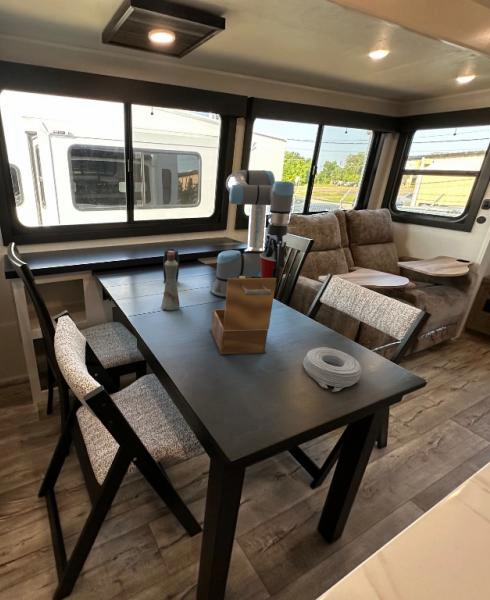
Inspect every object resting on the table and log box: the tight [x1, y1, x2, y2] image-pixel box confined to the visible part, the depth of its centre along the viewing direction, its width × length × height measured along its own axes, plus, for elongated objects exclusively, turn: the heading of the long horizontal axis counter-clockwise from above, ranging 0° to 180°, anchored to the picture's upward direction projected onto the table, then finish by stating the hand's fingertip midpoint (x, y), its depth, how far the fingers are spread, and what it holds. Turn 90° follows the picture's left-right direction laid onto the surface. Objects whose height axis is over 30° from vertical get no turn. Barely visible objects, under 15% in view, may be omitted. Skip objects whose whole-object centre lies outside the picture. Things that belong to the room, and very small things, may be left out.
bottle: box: [161, 252, 180, 312], centre depth 147 cm, size 9×9×28 cm
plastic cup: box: [260, 253, 288, 278], centre depth 127 cm, size 11×11×12 cm
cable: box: [302, 346, 362, 393], centre depth 104 cm, size 18×18×6 cm
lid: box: [223, 277, 277, 331], centre depth 105 cm, size 19×17×8 cm
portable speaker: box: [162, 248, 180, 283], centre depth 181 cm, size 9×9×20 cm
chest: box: [210, 308, 269, 355], centre depth 122 cm, size 19×17×10 cm
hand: (269, 279), depth 128 cm, fingers closed on plastic cup, 9 cm apart
